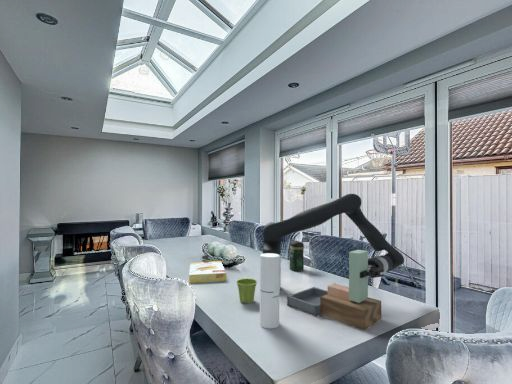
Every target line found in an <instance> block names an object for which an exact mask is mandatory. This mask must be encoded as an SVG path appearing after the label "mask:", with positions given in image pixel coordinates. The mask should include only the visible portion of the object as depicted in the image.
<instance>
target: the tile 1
mask: <svg viewBox="0 0 512 384" xmlns="http://www.w3.org/2000/svg"><path fill="white" fill-rule="evenodd" d="M342 287H345V285H341V284H337V283H332V284H329V285H327V291H328V295H330V296H334V297H337V298H339V289H340V288H342Z"/></svg>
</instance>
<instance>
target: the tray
mask: <svg viewBox="0 0 512 384" xmlns="http://www.w3.org/2000/svg"><path fill="white" fill-rule="evenodd" d="M327 294H328V290H327V289H326V290H325V289H323V288H318V287H315V286H312V287H310V288H309V287H308V288H306V289H304V290H301V291H298V292H295V293H293V294H290V295H287V297H286V299H287V300H286V301H287V303H286V306H288V307H290V308H292V309H295V310H297V311H300V312H303V313H306V314H309V315H311V316H314V317H319V316H321V315H320V297H322V296H324V295H327Z"/></svg>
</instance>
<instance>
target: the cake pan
mask: <svg viewBox="0 0 512 384" xmlns="http://www.w3.org/2000/svg"><path fill="white" fill-rule="evenodd" d="M200 259H201V262H211V260H209V259H208V255H207V254H204V255H201V256H200Z"/></svg>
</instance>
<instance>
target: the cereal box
mask: <svg viewBox="0 0 512 384" xmlns="http://www.w3.org/2000/svg"><path fill="white" fill-rule="evenodd" d="M226 281H227V272H226V269H225V266H223V264H222V261H211V262H203V261H199V262H196V261H195V262H190V263H189V272H188V283H189V284H198V283H216V282H226Z"/></svg>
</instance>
